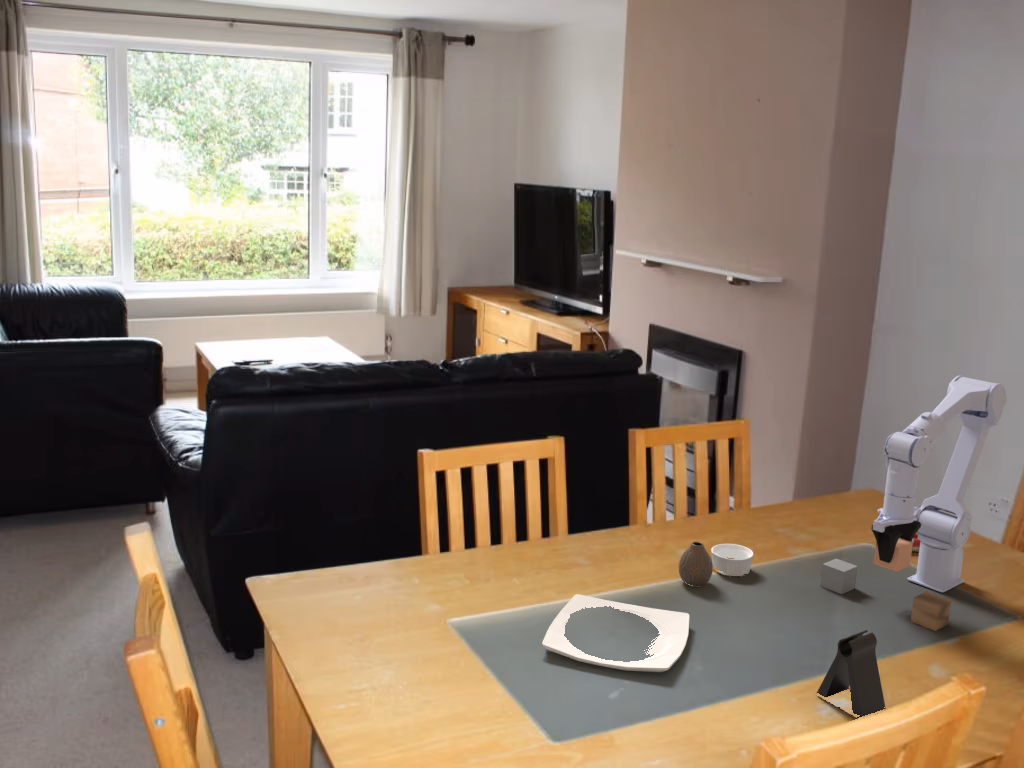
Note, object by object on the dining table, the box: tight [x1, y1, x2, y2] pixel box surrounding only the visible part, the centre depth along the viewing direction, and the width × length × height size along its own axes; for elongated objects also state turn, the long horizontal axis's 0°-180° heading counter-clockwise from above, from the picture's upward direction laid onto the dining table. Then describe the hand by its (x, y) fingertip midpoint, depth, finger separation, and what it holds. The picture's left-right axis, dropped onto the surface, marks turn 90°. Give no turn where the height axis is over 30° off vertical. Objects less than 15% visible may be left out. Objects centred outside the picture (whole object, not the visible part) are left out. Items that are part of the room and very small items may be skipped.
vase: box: [678, 541, 714, 587], centre depth 204 cm, size 7×7×9 cm
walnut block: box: [910, 591, 952, 632], centre depth 190 cm, size 5×5×5 cm
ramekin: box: [710, 543, 754, 576], centre depth 212 cm, size 9×9×4 cm
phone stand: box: [816, 629, 887, 718], centre depth 160 cm, size 9×6×12 cm, turn 34°
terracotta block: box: [873, 538, 913, 573], centre depth 197 cm, size 5×5×5 cm
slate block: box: [819, 558, 858, 595], centre depth 205 cm, size 5×5×5 cm
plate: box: [541, 593, 690, 673], centre depth 180 cm, size 24×24×3 cm
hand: (892, 557), depth 197 cm, fingers closed on terracotta block, 5 cm apart
